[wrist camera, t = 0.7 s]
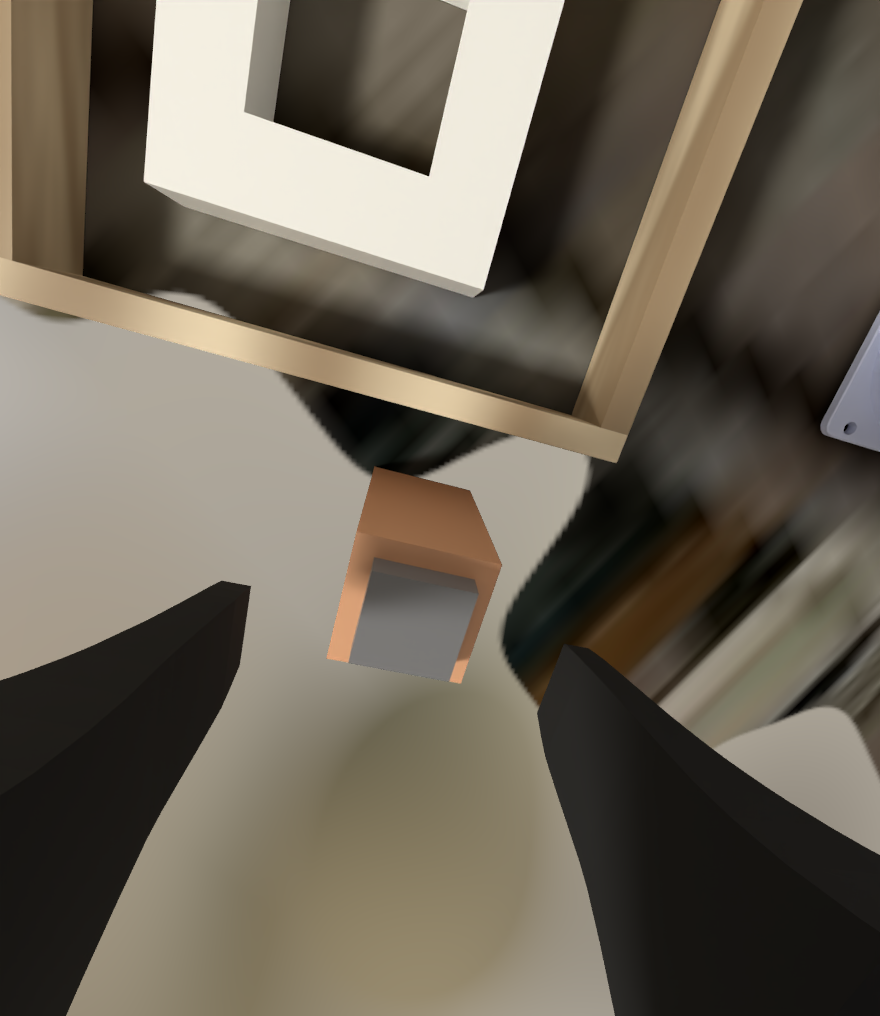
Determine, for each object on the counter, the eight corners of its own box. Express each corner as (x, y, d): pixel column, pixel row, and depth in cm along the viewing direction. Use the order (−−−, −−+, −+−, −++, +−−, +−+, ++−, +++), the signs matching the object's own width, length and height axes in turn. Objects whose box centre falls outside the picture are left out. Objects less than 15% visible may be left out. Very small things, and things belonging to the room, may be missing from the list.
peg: (469, 490, 19) (508, 578, 12) (443, 575, 21) (463, 702, 13) (374, 466, 19) (353, 543, 11) (353, 555, 20) (321, 677, 13)
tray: (776, -60, 14) (867, -161, 11) (585, 445, 19) (616, 463, 16) (63, -402, 11) (-53, -652, 8) (50, 297, 16) (-27, 287, 13)
